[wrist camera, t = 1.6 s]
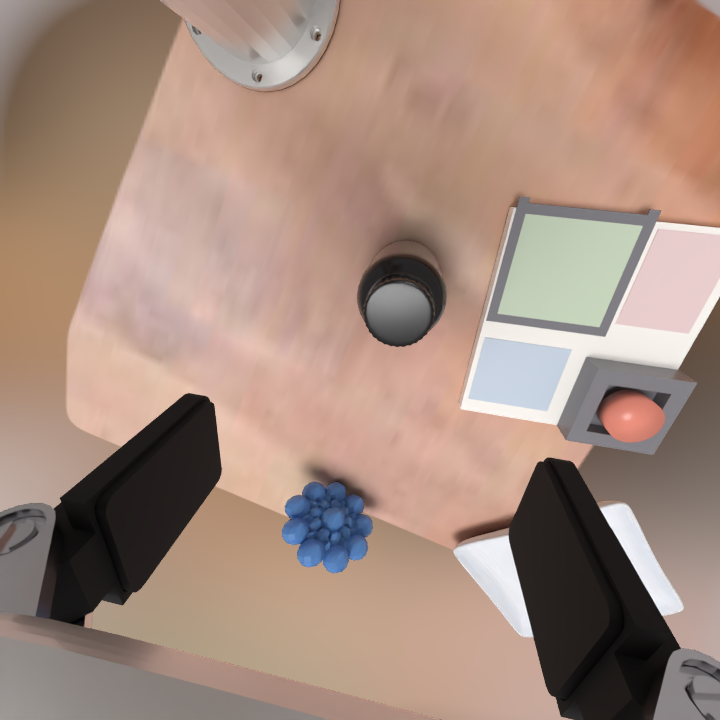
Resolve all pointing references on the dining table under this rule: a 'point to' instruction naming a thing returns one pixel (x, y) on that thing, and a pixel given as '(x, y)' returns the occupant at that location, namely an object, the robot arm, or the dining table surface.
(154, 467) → the robot arm
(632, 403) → the button
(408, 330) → the supplement bottle
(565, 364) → the printed board
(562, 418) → the button housing
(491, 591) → the salad plate
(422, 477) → the dining table surface
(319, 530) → the grapes
